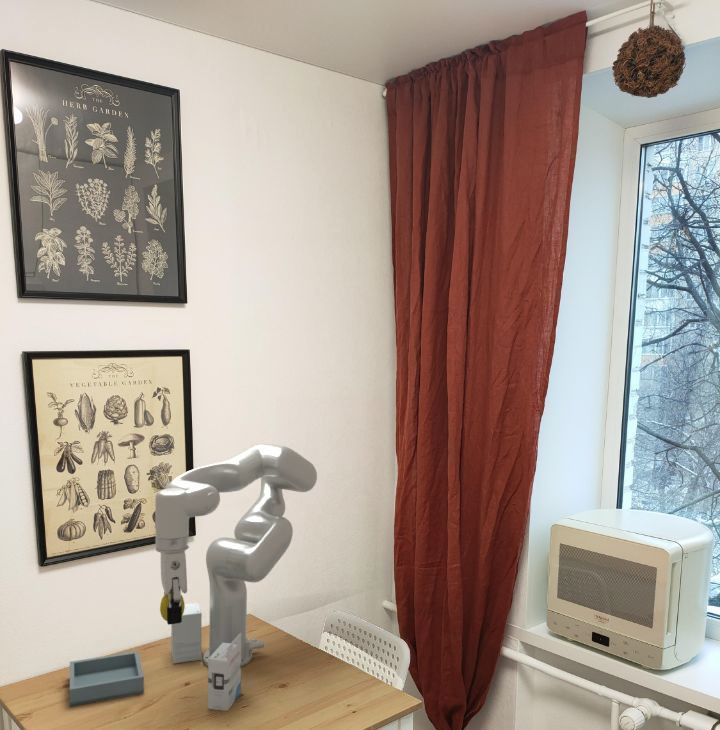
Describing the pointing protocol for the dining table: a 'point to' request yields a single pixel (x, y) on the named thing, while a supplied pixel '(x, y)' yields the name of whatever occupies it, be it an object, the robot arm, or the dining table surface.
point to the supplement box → (187, 635)
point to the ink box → (224, 675)
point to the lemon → (165, 604)
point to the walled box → (105, 678)
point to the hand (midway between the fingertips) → (172, 617)
